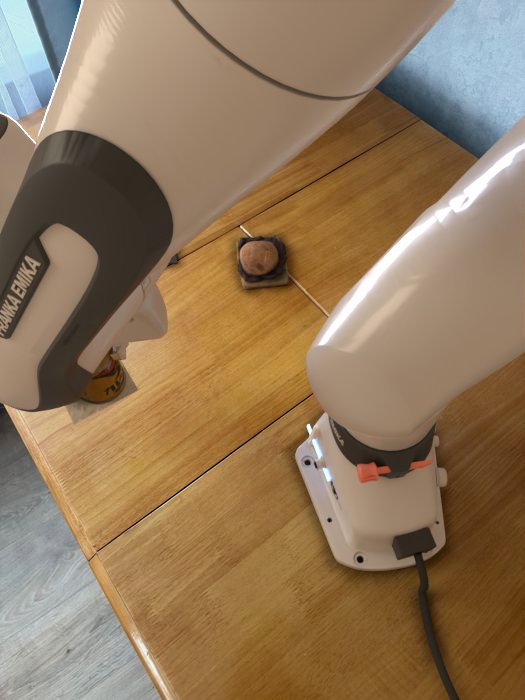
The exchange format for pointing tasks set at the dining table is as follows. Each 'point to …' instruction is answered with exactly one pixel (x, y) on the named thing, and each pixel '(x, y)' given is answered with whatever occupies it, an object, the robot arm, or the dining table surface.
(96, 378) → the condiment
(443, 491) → the dining table surface
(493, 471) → the dining table surface
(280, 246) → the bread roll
